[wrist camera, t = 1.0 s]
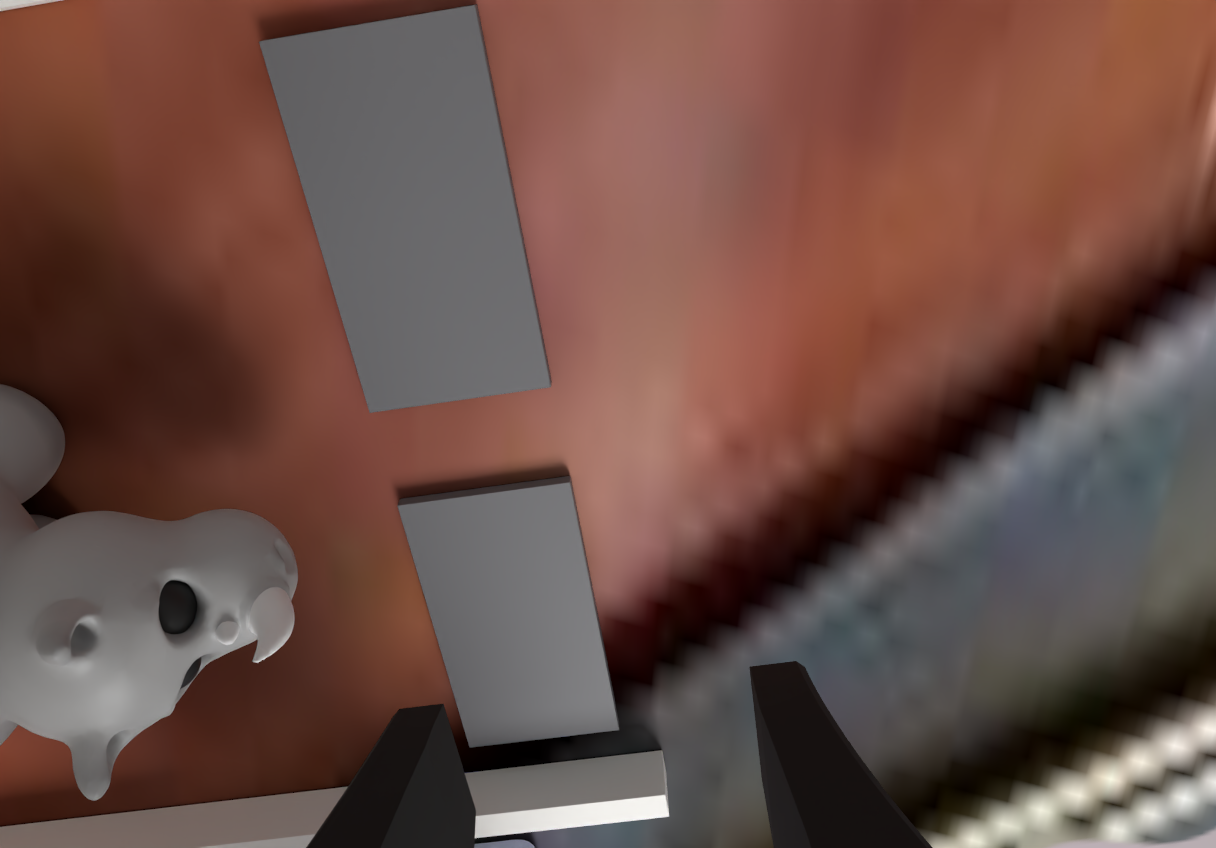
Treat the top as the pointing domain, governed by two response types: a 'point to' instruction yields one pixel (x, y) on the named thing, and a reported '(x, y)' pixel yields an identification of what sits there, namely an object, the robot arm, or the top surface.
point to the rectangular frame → (427, 374)
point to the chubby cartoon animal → (119, 603)
